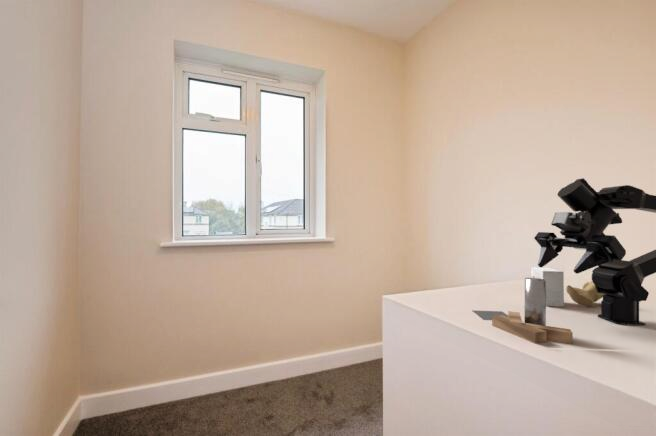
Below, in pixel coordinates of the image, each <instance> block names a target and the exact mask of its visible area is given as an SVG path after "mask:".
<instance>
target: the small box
mask: <svg viewBox="0 0 656 436" xmlns="http://www.w3.org/2000/svg"><path fill="white" fill-rule="evenodd" d="M530 272H531V274H530V275H531V277H530V278H539V279H544V280H546V307H556V308H557V307H559V308H560V307H561V308H563V307H565V298H564V297H565V293H564V291H565V289H564V276H565V275H564V271H563V270H558V269H555V268H552V267H539V266H538V267H534V266H533V267H531V268H530Z"/></svg>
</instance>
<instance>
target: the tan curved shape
mask: <svg viewBox="0 0 656 436" xmlns="http://www.w3.org/2000/svg"><path fill="white" fill-rule="evenodd" d="M565 290H566V293H567V295H569V297H570V298H571V300H572V301H573V302H575V303H577V304H578V305H580V304H581V306H586V307H588V308H594V306H595V305H596V304H595V303H596V302H598V301H599V300H600V299H601V300H602V299H603V295H605V294H603V293H598V292H597V290H596V287H595V284H594V283H593V281H592V280H591V281H589V282H588V281H587V282H584V284H583V285H582V288H579V287H573V286H571V285H570V284H568V285H567V286H566V287H565Z"/></svg>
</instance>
